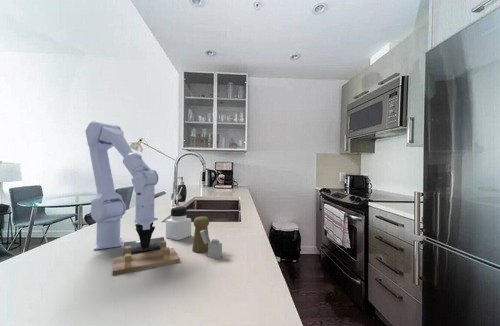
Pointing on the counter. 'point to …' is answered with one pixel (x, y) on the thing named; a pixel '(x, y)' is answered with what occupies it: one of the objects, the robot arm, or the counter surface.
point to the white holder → (212, 245)
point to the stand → (144, 259)
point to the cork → (198, 242)
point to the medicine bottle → (178, 224)
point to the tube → (137, 246)
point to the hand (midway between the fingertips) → (144, 246)
